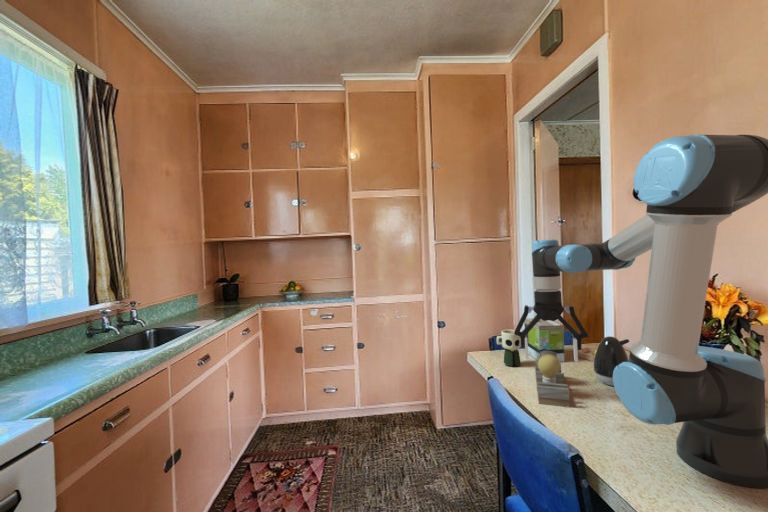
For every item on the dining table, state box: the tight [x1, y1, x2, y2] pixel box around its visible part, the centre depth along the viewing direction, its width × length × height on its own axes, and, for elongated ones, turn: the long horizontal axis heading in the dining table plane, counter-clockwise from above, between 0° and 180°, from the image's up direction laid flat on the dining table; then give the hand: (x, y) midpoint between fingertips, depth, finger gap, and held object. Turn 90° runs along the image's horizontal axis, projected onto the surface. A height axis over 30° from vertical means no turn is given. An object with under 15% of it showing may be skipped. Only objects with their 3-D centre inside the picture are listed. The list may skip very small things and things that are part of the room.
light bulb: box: [536, 354, 561, 384], centre depth 107 cm, size 6×6×10 cm
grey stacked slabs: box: [534, 351, 571, 408], centre depth 111 cm, size 24×8×10 cm, turn 158°
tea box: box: [523, 317, 565, 363], centre depth 142 cm, size 15×10×15 cm, turn 179°
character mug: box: [496, 329, 522, 367], centre depth 135 cm, size 11×7×13 cm, turn 83°
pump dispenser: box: [593, 336, 630, 387], centre depth 113 cm, size 10×10×15 cm
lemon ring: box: [578, 345, 598, 362], centre depth 140 cm, size 14×14×2 cm
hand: (550, 359), depth 106 cm, fingers open, 13 cm apart
